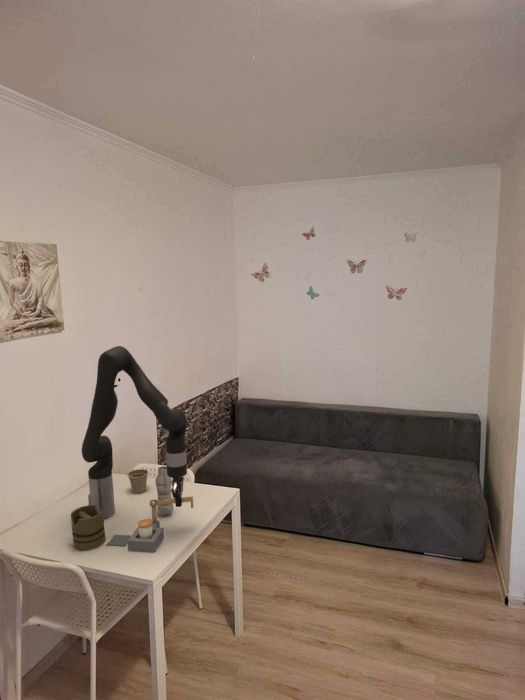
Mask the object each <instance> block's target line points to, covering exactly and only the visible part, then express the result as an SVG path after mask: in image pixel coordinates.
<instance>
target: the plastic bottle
mask: <svg viewBox="0 0 525 700" xmlns="http://www.w3.org/2000/svg"><path fill="white" fill-rule="evenodd" d="M157 473H158V474H157V476H156V477H155V480H154V482H155V486H156V493H157V500H163V499H173V497H172V492H171V489H172V484H171V481H172V478H171V477H169V476H168V475H167V466H164V465H163V466H159V467H158V468H157ZM156 510H157V514H159V515H160V516H169V515H172V513H173V512H174V503H173V504H164V505H157V506H156Z"/></svg>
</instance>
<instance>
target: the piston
mask: <svg viewBox="0 0 525 700" xmlns="http://www.w3.org/2000/svg"><path fill="white" fill-rule="evenodd" d="M70 522H71V523H70V524H71V532H72V533H71V534H72V543H73V546H72V547H73V548H74V549H75V550H77V551H80V552H81V551H82V552H84V551H91V550H95V549H97V548H99V547H101V546H102V545H103V544H104V543H105V542H106V532H105V531H106V529H105V519H104V516H103V510H101V512H99V511H98V510H97V508H96V505H89V504H88V505H83V506H80V507H77V508H75V509H74V510H73V511H71V513H70Z"/></svg>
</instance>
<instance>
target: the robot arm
mask: <svg viewBox="0 0 525 700" xmlns="http://www.w3.org/2000/svg"><path fill="white" fill-rule="evenodd" d="M122 371H123V372H124V373H126V375H128V376H129V378H130V379H131V381H132V382H133V384H134V387H135V389H136V392H137V395H138V397H139V399H140V400H141V402H142V403H144V405H146V407H148V409H150V410H151V412H152V414H153V415H154V416H155V418H156V420H157V422H158V423H159V424H160V425H161V427H162V428H163V429H164V430H165V431H168V435H167V437H166V439H165V446H166V449H165V450H166V453H165V454H166V457H165V460H166V461H165V462H166V467H167V475H168V476H169V477H171V479H172V480H171V496H172V499H173V498H175V503H174V504H175V507H176V508H179V507H180V508H181V507H182V505H183V503H182V498H183V492H184V479H185V478H184V477H185V476H186V475H187V474H188V463H187V453H186V438H185V437H186V431H187V415H186V413H185V412H184V411H183V410H182V409H180V408H175V409H172V410H171V408H170V406H169V400H168V399H167V397H166V396H164V394H163V393H162V392H161V391H160V389H158V388H157V387H156V386H155V385H154V383H153V382H152V381H151V380H150V379H149V377H148V376H147V374H146V373H145V372H144V371H143V368H141V366H140V365H139V364H138V362H137V361H136V359H135V357H133V355H132V354H131V352H130V351H129V350H128V349H127V348H126V347H124V346H122V345H117V346H113V347H112V348H109V349H107V350H106V351H103V352H102V353H101V354H100V356H99V358H98V363H97V373H96V374H97V375H96V384H95V388H94V389H95V390H94V395H93V400H92V405H91V410H90V415H89V416H90V417H89V421H88V425H87V429H86V432H85V435H84V438H83V442H82V444H81V456H82V458H83V460H84V461H85V462H86V463H94V464H93V465H92V466H90V468H89V469H88V471H87V472H88V473H87V474H88V485H89V486H88V487H89V494H88V495H87V498H88V499H87V500H88V505H96V508H97V510H98V511H99V512H101V510H103V516H104V520H105V519H108V518H111V517H113V516H114V515H115V513H116V507H115V506H116V505H115V497H114V496H115V494H114V493H115V492H114V481H113V468H114V466H113V465H114V464H113V463H114V460H113V445H112V441H111V439H110V438H109V436H107V435H103V433H104V432H105V431H106V429H107V428H108V427H109V425H111V423H112V421H113V420H114V419H115V416H116V413H117V408H118V404H119V403H118V395H117V393H116V391H115V383H116V379H117V376H118V374H119V373H121V372H122Z"/></svg>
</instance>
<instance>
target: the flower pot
mask: <svg viewBox="0 0 525 700" xmlns="http://www.w3.org/2000/svg"><path fill="white" fill-rule="evenodd" d="M148 475H149V471H148V470H147V469H144V468H143V469H142V468H141V469H140V468H139V469H134V470H131V471H129V472H128V473H127V477H128V479H129V483H130V487H131V492H132V493H133V494H142V493H144V492H145V491H147V480H148V479H147V478H148Z"/></svg>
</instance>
